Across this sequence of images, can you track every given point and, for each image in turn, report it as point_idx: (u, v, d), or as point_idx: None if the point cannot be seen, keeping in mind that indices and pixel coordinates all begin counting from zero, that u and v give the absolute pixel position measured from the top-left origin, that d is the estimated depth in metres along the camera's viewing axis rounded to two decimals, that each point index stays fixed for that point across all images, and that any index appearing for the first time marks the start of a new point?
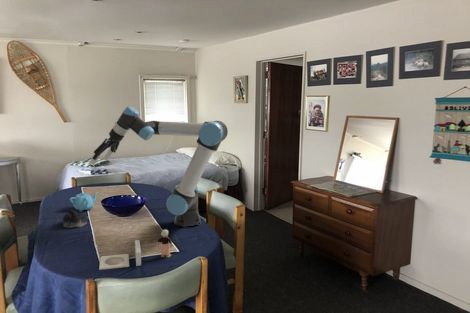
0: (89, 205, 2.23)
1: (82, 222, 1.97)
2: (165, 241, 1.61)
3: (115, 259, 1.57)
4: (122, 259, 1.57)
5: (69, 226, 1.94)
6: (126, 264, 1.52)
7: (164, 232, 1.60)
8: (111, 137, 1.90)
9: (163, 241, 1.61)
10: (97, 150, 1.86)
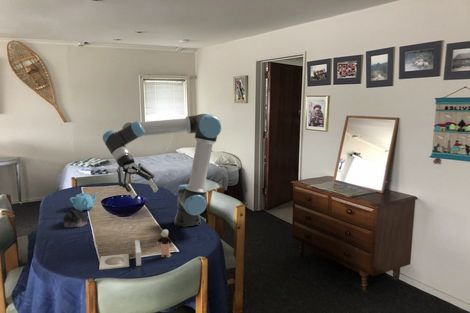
0: (89, 205, 2.23)
1: (82, 222, 1.97)
2: (165, 241, 1.61)
3: (115, 259, 1.57)
4: (122, 259, 1.57)
5: (69, 226, 1.95)
6: (126, 264, 1.52)
7: (164, 232, 1.60)
8: (121, 165, 1.67)
9: (163, 241, 1.61)
10: (119, 181, 1.60)
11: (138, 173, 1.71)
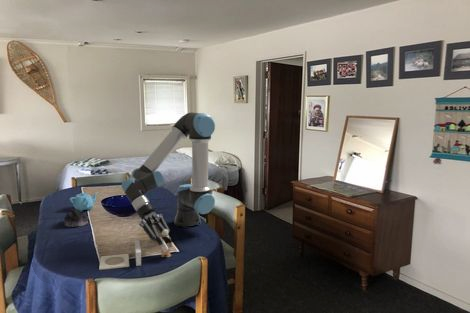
0: (89, 205, 2.23)
1: (83, 221, 1.98)
2: (165, 241, 1.61)
3: (115, 259, 1.57)
4: (122, 259, 1.57)
5: (70, 225, 1.96)
6: (126, 264, 1.52)
7: (164, 232, 1.60)
8: (140, 217, 1.62)
9: None
10: (150, 235, 1.59)
11: (156, 224, 1.66)
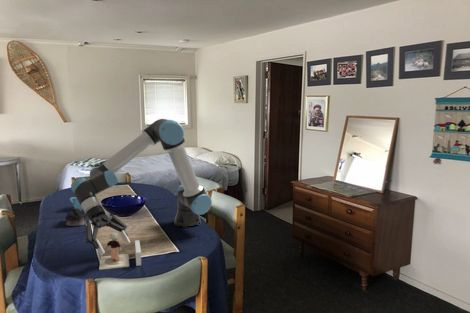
0: None
1: (84, 220, 2.00)
2: (113, 245, 1.53)
3: None
4: (122, 259, 1.57)
5: (72, 224, 1.97)
6: (126, 264, 1.52)
7: (112, 235, 1.53)
8: (89, 217, 1.55)
9: (112, 245, 1.54)
10: (86, 237, 1.49)
11: (109, 225, 1.60)
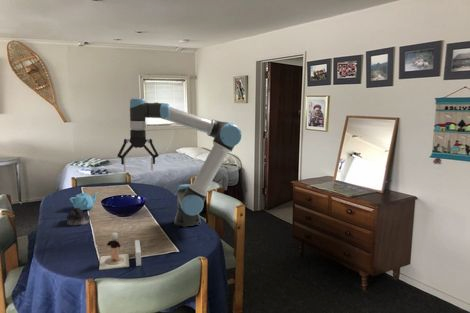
0: (89, 205, 2.23)
1: (86, 220, 2.01)
2: (113, 245, 1.53)
3: None
4: (122, 259, 1.57)
5: (73, 224, 1.98)
6: (126, 264, 1.52)
7: (112, 235, 1.53)
8: (130, 136, 1.78)
9: (112, 245, 1.54)
10: None
11: None
